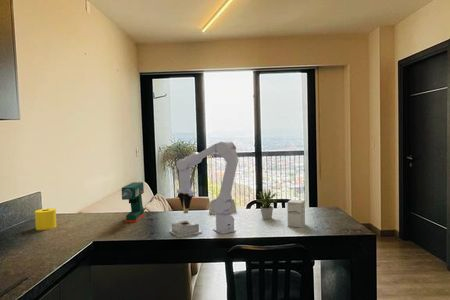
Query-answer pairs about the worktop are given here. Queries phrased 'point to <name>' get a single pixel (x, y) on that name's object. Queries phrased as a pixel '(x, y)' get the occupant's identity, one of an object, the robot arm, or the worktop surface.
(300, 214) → the supplement box
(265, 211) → the house plant
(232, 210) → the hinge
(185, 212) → the brass cylinder rod
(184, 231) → the chuck block
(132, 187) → the power tool
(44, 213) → the yellow holed block
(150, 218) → the worktop surface
